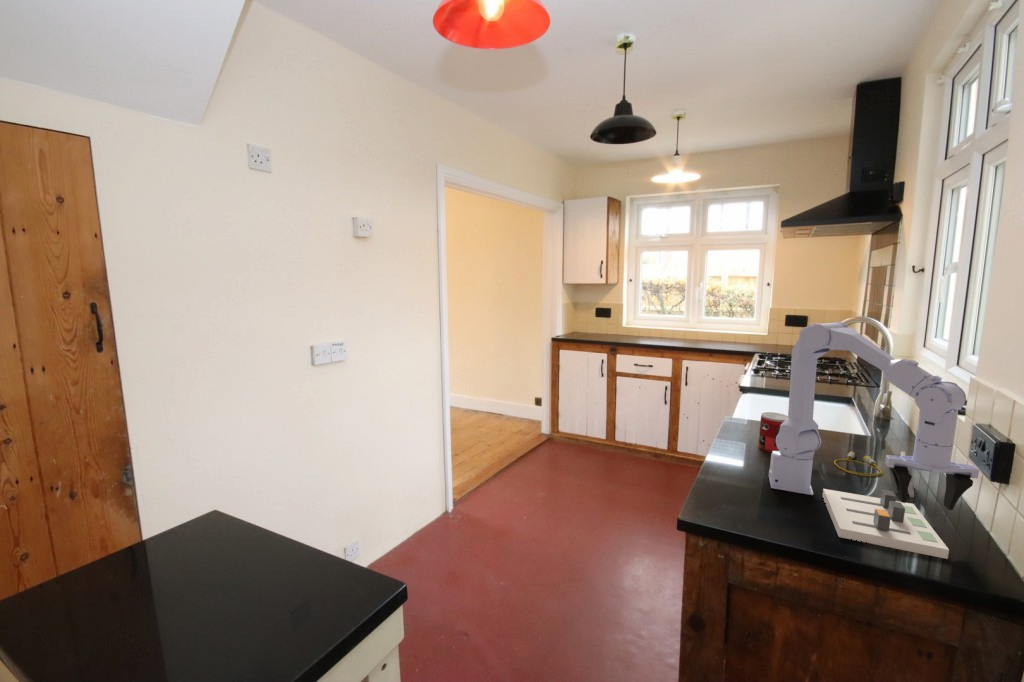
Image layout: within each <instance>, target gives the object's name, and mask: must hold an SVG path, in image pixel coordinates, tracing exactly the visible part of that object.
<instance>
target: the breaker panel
mask: <svg viewBox="0 0 1024 682" xmlns="http://www.w3.org/2000/svg"><path fill="white" fill-rule="evenodd" d="M880 491H881V492H880V493H881V494H880V497H875V496H868V495H863V494H858V493H851V492H845V491H839V490H834V489H827V488H823V489H822V498H824V499H823V501H824V503H826V504H825V506H826V508H827V511H828V513H829V517H830V518H831V521H832V523H833V525H834V529H835V532H836V533H837V536H838V538H842V539H848V540H851V539H852V541H856V540H857V542H861V541H862V542H861V543H866V542H867V544H870V545H871V544H872V545H875V546H877V545H878V546H881V547H887V548H892V549H896V550H902V551H906V552H911V553H916V554H920V555H921V554H922V555H926V556H932V557H937V558H940V559H946V560H949V559H948V558H949V554H950V553H949V552H950V549H949V548H948V546H947V545H946V543H945V542H944V541H943V540H942V538H940V536H939V535H938V533H937V532H936V531H935V530H934V528H933V527H932V526H931V525H930V523H929V522H928V520H927V519H926V518H925V517H924V516H923V514H922V513H921V511H920V510H919V508H917V507H916V505H915V503H909V502H906V503H902V502H901V501H900V500H899V501H898V500H897V494H896V493H895V492H894V490H888V489H881V490H880ZM875 509H881V510H886V511H887V513H888V514H889V516H890V518H891V519H890V526H889V531H885V530H880V529H877V528H876V526H875V524H874V522H873V520H874V513H875Z"/></svg>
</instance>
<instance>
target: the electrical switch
mask: <svg viewBox="0 0 1024 682" xmlns="http://www.w3.org/2000/svg"><path fill="white" fill-rule="evenodd" d="M888 455H889V456H907V454H906V451H900V454H888ZM888 470H889V475H890V478H891V483H892V487H893V493H894V494H898V491H897V486H896V482H895V479H894V476H893V474H892V472H891V469H890V467H888ZM908 471H909V474H910V475H911V476H912V478H911V480H910V483H909V487H908V493H907V495H909V498H915V489H914V481H913V474H912V473H913V472H912V471H913V469H908Z"/></svg>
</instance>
